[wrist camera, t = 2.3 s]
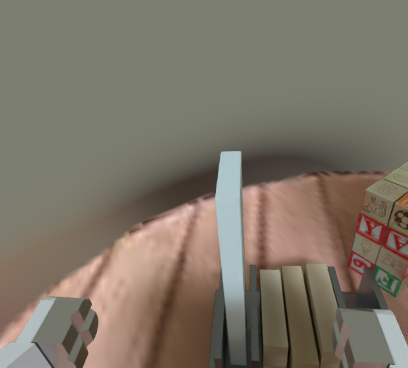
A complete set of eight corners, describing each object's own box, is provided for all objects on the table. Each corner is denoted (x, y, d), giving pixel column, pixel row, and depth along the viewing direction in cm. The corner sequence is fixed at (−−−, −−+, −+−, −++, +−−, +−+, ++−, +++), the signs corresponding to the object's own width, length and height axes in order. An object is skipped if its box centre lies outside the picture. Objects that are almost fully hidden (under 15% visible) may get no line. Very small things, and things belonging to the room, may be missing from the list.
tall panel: (246, 309, 35) (240, 151, 24) (246, 365, 30) (239, 199, 19) (232, 309, 36) (221, 151, 24) (230, 364, 31) (215, 199, 19)
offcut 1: (277, 302, 36) (279, 269, 33) (285, 379, 29) (288, 346, 26) (259, 302, 36) (259, 269, 33) (263, 377, 29) (263, 345, 26)
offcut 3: (319, 300, 35) (326, 263, 32) (339, 388, 28) (350, 353, 25) (301, 299, 36) (305, 263, 32) (315, 387, 28) (323, 351, 25)
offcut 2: (297, 295, 36) (301, 265, 33) (313, 393, 28) (319, 364, 25) (279, 295, 36) (281, 265, 34) (289, 391, 28) (293, 362, 25)
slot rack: (363, 299, 36) (374, 263, 33) (403, 411, 27) (423, 377, 24) (216, 295, 38) (212, 261, 35) (207, 396, 29) (201, 363, 26)
